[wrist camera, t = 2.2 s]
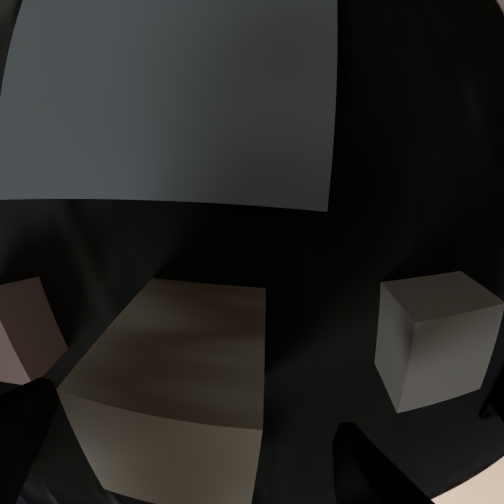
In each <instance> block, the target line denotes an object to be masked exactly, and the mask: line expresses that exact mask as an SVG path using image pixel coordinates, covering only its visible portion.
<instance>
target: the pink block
mask: <svg viewBox="0 0 504 504" xmlns="http://www.w3.org/2000/svg"><path fill="white" fill-rule="evenodd" d="M67 349H68V347H67V345H66V343H65V341H64V338H63V336H62V334H61V332H60V329H59V327H58V325H57V323H56V320H55V318H54V315H53V313H52V310H51V308H50V305H49V303H48V300H47V298H46V295H45V292H44V290H43V287H42V284H41V281H40V278H39V277H35V278H30V279H25V280H21V281H16V282H12V283H7V284H3V285H0V381H2V382H8V383H14V384H21V385H23V384H25V383H28V382H30V381H32V380H35V379H37V378H39V377H43V376H44V375H45V373H46V372H47V371H48V370H49V369H50V368H51V367H52V366H53V364H54V363H55V362H56V361H57V360H58V359H59V358H60V357H61V356H62V355H63V353H64V352H65V351H66V350H67Z"/></svg>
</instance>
